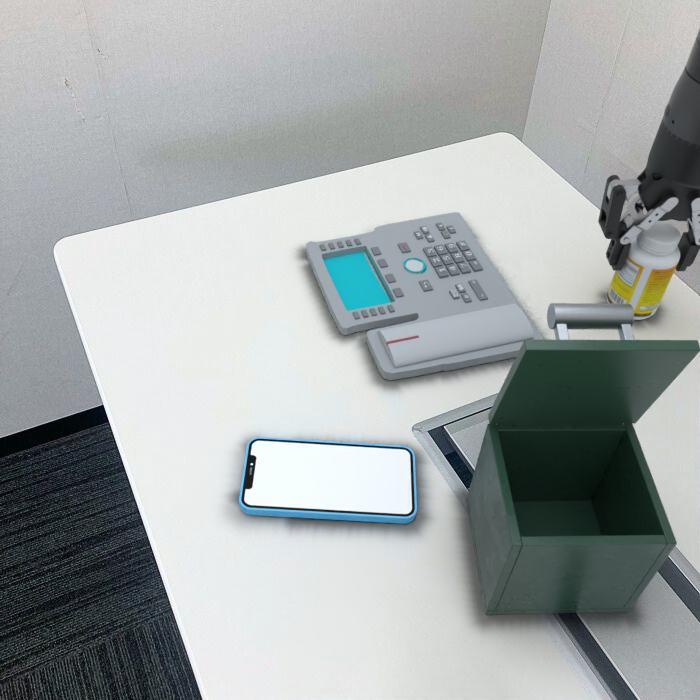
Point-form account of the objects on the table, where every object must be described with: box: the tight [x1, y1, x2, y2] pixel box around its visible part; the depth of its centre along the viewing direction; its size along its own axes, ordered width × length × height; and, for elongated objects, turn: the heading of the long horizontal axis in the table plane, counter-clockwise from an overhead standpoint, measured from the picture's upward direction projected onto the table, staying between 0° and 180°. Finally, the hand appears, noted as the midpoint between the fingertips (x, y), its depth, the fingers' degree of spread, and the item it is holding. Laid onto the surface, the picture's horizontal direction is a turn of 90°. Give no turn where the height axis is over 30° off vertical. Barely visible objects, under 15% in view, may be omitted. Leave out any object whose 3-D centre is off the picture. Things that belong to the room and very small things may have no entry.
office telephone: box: [305, 211, 545, 381], centre depth 83 cm, size 23×3×20 cm
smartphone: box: [238, 436, 418, 524], centre depth 66 cm, size 8×1×15 cm
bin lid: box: [487, 302, 700, 424], centre depth 54 cm, size 11×11×5 cm
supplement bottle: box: [606, 221, 681, 321], centre depth 80 cm, size 6×6×10 cm
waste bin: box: [465, 423, 678, 615], centre depth 58 cm, size 10×11×11 cm
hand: (646, 265), depth 80 cm, fingers open, 6 cm apart
